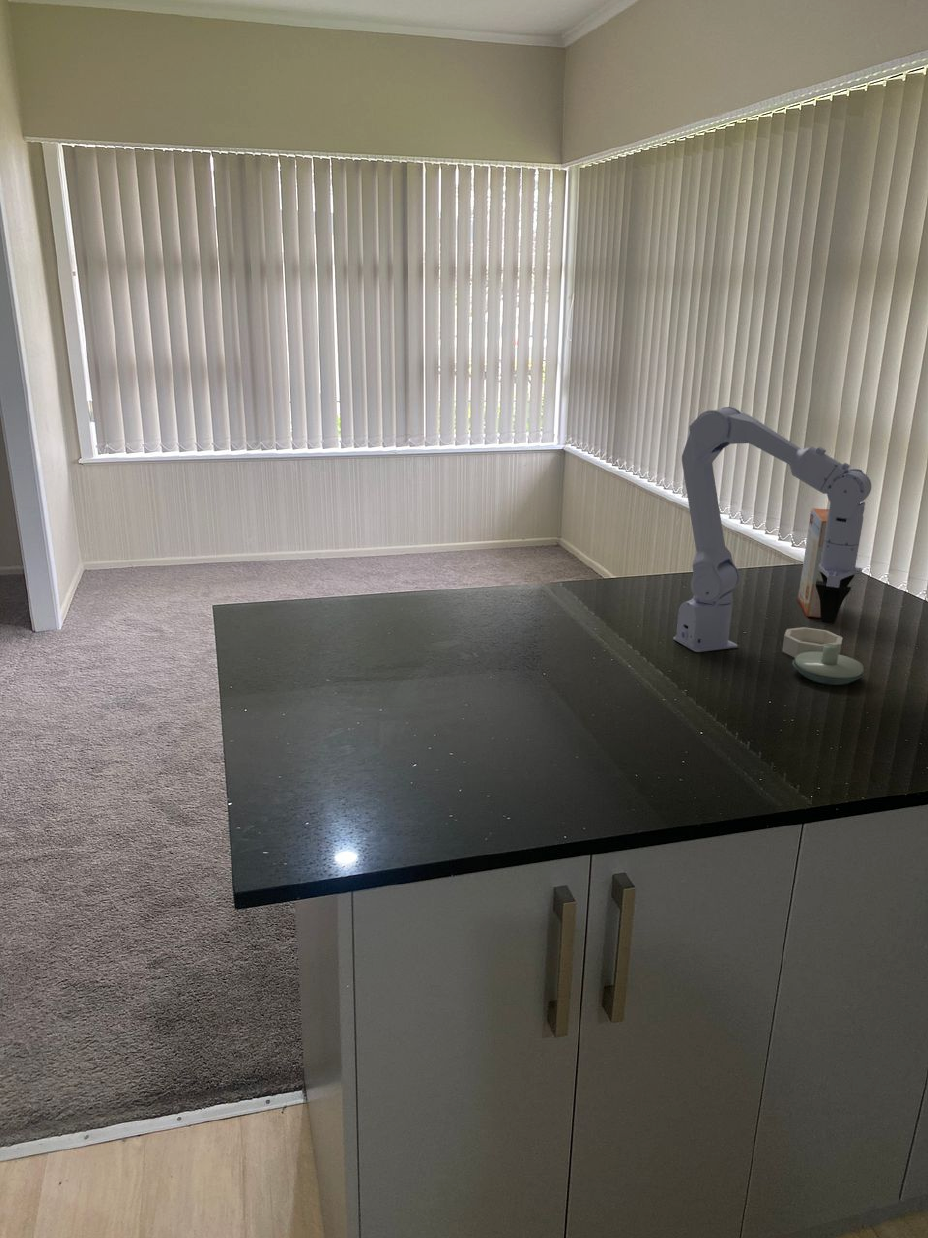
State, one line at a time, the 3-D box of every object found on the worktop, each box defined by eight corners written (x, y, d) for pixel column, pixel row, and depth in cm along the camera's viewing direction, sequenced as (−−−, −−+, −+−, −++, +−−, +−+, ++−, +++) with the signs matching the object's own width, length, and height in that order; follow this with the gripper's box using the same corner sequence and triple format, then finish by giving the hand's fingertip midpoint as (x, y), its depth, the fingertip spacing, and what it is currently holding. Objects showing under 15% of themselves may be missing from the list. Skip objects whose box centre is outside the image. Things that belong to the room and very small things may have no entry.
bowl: (807, 664, 171) (810, 647, 170) (772, 646, 180) (774, 630, 179) (851, 658, 175) (853, 642, 174) (814, 641, 183) (816, 625, 182)
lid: (821, 681, 158) (824, 660, 157) (781, 658, 168) (784, 638, 167) (877, 675, 161) (880, 655, 160) (835, 653, 171) (838, 634, 170)
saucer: (805, 661, 173) (806, 650, 173) (871, 678, 166) (873, 666, 166) (780, 679, 165) (782, 667, 164) (849, 697, 158) (851, 684, 157)
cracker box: (835, 620, 197) (851, 522, 190) (805, 617, 198) (820, 520, 191) (825, 601, 210) (839, 508, 203) (797, 599, 211) (810, 506, 204)
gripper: (864, 553, 154) (851, 632, 158) (868, 536, 167) (856, 609, 171) (818, 548, 157) (807, 625, 161) (826, 531, 169) (815, 603, 174)
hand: (829, 616), depth 166 cm, fingers open, 7 cm apart
